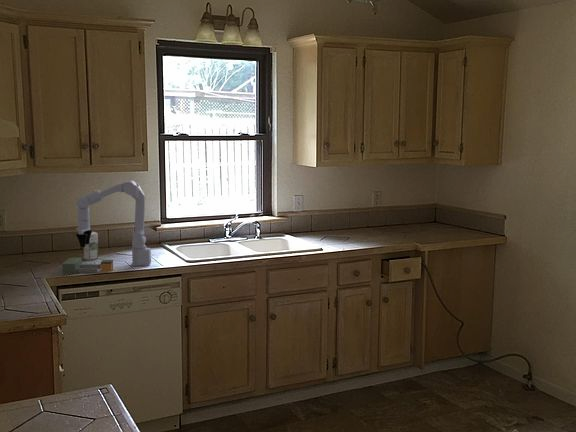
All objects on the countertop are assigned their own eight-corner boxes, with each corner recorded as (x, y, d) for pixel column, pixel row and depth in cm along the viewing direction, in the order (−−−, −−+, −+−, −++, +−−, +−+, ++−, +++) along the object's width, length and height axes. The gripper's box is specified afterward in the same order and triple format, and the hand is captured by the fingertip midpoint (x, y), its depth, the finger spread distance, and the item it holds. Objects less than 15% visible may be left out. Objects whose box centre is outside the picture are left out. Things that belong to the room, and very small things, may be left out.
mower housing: (102, 267, 313) (101, 257, 313) (96, 273, 300) (95, 263, 299) (69, 267, 312) (69, 257, 311) (62, 273, 298) (62, 263, 297)
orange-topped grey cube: (113, 269, 309) (113, 259, 309) (111, 271, 305) (111, 261, 304) (103, 269, 309) (102, 259, 308) (101, 271, 304) (100, 261, 303)
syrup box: (92, 257, 336) (91, 231, 334) (98, 258, 332) (97, 232, 330) (83, 258, 332) (82, 232, 330) (89, 260, 328) (88, 233, 326)
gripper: (79, 217, 322) (80, 243, 324) (72, 221, 307) (73, 248, 309) (93, 217, 322) (94, 243, 324) (86, 222, 308) (87, 248, 310)
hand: (84, 245), depth 317 cm, fingers open, 7 cm apart
